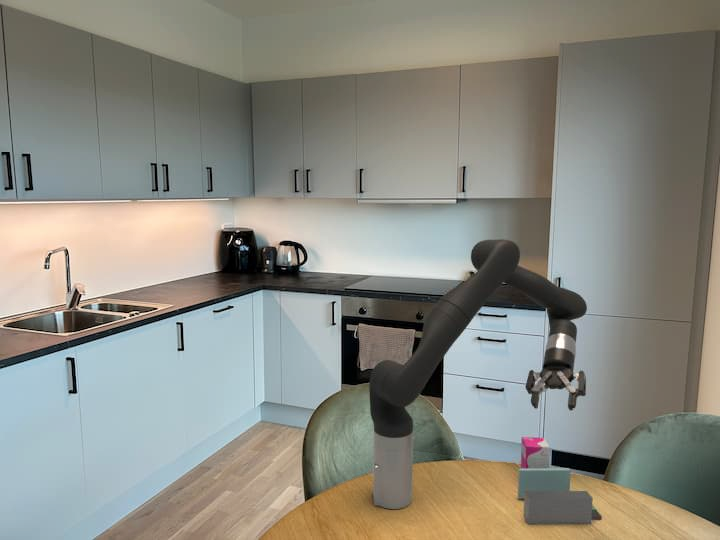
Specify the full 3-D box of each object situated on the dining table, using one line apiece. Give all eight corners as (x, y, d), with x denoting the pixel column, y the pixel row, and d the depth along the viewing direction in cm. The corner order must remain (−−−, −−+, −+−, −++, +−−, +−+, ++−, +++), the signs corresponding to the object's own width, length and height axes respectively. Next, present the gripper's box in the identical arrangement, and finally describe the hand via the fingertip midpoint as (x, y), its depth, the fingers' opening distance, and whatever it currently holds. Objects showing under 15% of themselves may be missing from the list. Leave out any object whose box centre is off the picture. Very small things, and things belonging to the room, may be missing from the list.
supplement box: (542, 479, 135) (544, 437, 134) (548, 492, 129) (550, 447, 128) (519, 478, 136) (521, 436, 134) (524, 490, 130) (526, 446, 128)
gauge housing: (528, 524, 116) (529, 498, 115) (513, 498, 126) (514, 474, 126) (604, 523, 116) (606, 498, 115) (583, 497, 127) (585, 474, 126)
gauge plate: (519, 498, 125) (520, 470, 124) (517, 496, 126) (518, 468, 125) (585, 498, 125) (587, 470, 125) (584, 495, 126) (585, 468, 126)
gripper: (528, 346, 142) (519, 398, 132) (584, 345, 134) (578, 400, 124) (536, 363, 146) (528, 414, 136) (591, 363, 138) (586, 417, 128)
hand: (552, 407), depth 130 cm, fingers open, 8 cm apart
